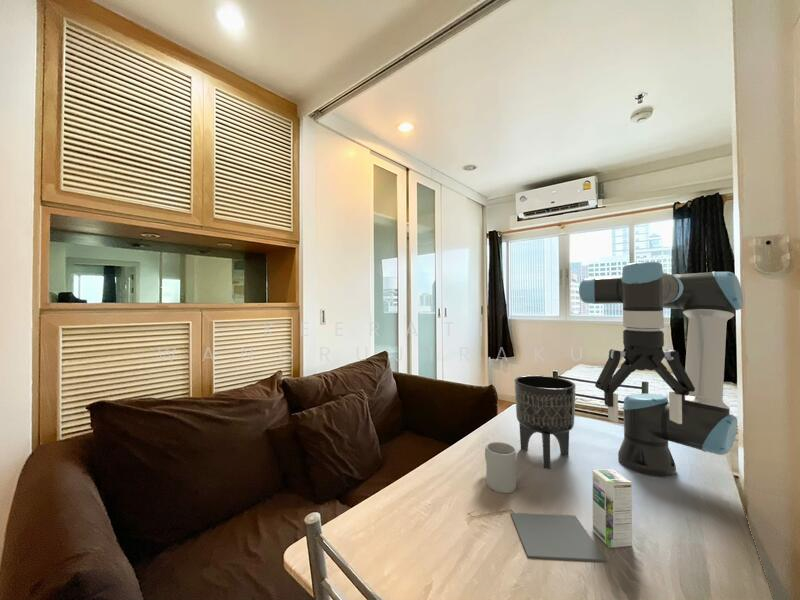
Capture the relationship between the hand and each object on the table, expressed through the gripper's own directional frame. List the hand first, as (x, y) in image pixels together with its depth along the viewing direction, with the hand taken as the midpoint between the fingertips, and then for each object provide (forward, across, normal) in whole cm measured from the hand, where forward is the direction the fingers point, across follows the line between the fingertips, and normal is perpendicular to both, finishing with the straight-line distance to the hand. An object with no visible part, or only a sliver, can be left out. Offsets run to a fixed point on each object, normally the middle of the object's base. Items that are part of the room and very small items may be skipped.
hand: (644, 421), depth 74 cm
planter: (+27, +9, -38) cm, 48 cm away
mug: (+27, +29, -21) cm, 45 cm away
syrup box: (+27, +8, +1) cm, 28 cm away
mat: (+27, +21, +1) cm, 34 cm away
